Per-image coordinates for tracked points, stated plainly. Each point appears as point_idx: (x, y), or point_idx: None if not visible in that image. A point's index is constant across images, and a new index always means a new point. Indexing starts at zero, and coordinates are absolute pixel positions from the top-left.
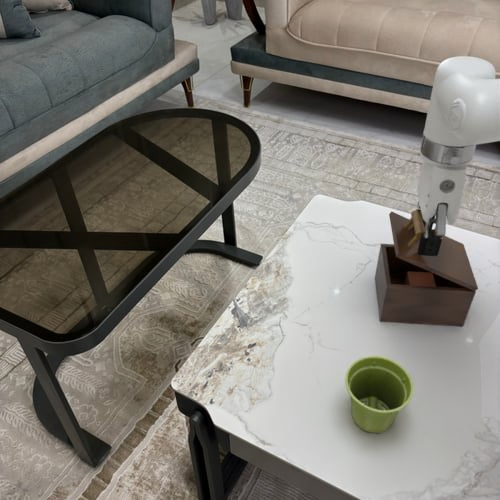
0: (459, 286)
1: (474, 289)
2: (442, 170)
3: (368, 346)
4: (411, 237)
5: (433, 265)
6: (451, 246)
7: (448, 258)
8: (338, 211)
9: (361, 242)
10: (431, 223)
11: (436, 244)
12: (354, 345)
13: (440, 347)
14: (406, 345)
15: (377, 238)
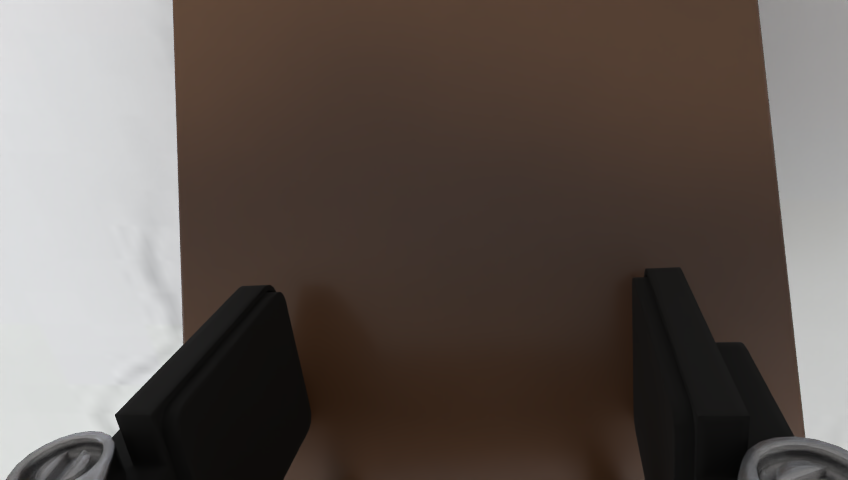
0: None
1: None
2: None
3: (815, 326)
4: (449, 465)
5: (731, 261)
6: (287, 27)
7: (491, 75)
8: (12, 431)
9: (170, 348)
10: (250, 343)
11: (788, 425)
12: (811, 378)
13: (812, 4)
14: (803, 170)
15: (117, 285)
